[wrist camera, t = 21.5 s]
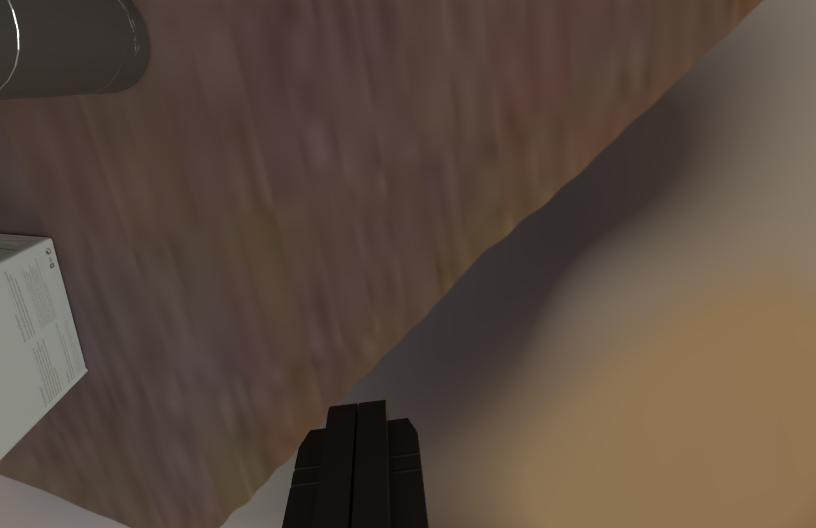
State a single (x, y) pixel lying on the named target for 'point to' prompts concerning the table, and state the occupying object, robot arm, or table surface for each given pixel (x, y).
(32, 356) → the supplement box
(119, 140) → the table surface
